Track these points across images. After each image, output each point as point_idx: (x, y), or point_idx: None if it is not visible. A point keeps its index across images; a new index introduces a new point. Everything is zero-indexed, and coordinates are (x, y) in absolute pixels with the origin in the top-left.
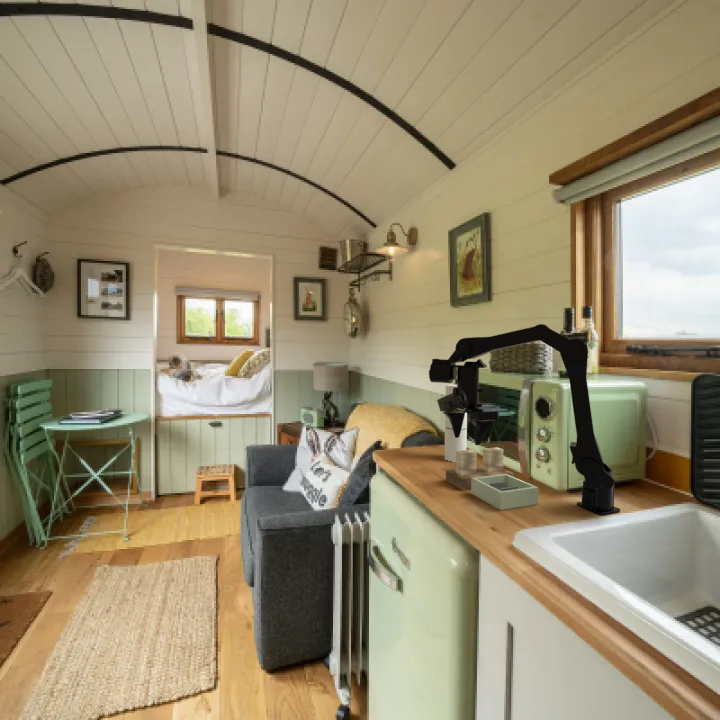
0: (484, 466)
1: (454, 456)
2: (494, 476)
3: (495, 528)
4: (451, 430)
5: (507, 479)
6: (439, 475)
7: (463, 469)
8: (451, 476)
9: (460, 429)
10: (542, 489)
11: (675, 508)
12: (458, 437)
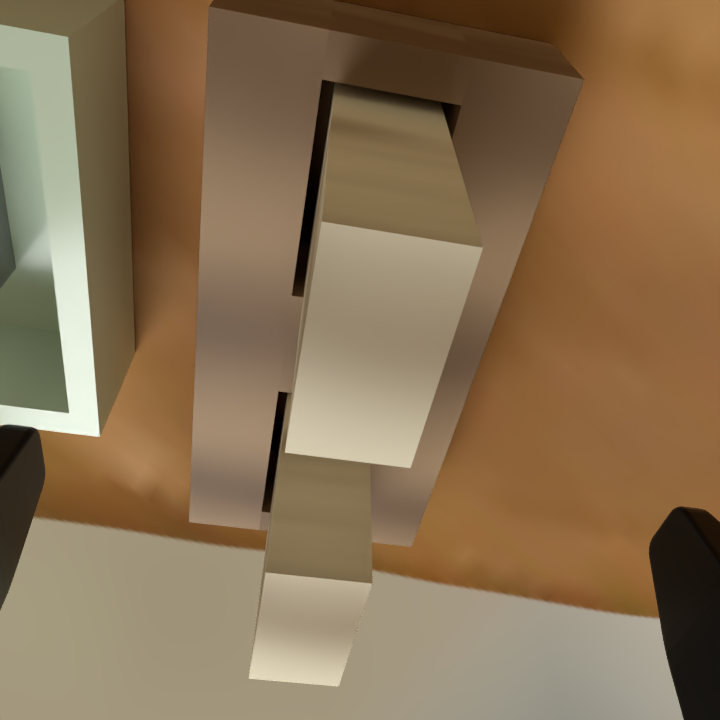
0: None
1: None
2: (59, 307)
3: None
4: None
5: (59, 388)
6: (711, 116)
7: (325, 157)
8: (456, 45)
9: (694, 715)
10: (56, 510)
11: None
12: (653, 541)
